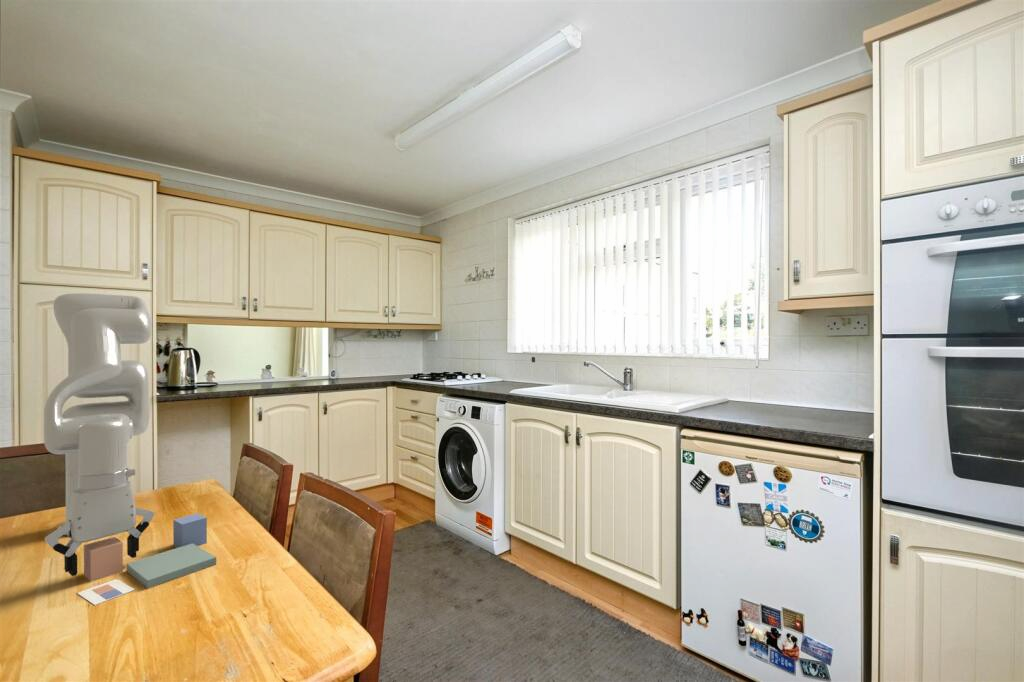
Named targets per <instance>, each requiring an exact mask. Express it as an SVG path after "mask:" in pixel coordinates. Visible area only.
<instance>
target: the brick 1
mask: <svg viewBox="0 0 1024 682" xmlns="http://www.w3.org/2000/svg"><path fill="white" fill-rule="evenodd" d="M123 549H124V547H123V541H121V540H120V539H119V538H117V537H116V536H113V537H109V538H105V539H101V540H97V541H94V542H90V543H87V544H83V575H84V576H85V577H86V578H87V579H88V580H89V581H90V582H94V581H97V580H101V579H103V578H106V577H110V576H112V575H116V574H119V573H122V572H123V571H124V569H123V568H124V566H123V565H124V564H123V561H124V557H123V555H124V554H123V553H124V552H123V551H124V550H123Z"/></svg>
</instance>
